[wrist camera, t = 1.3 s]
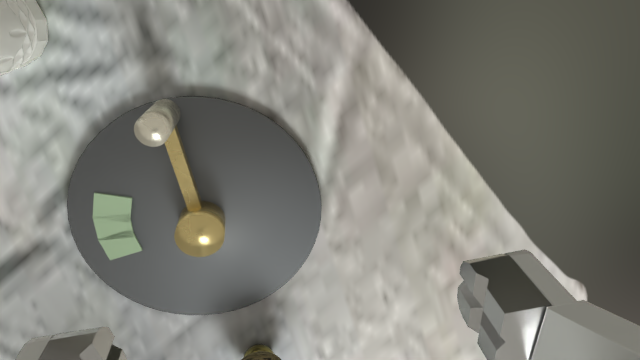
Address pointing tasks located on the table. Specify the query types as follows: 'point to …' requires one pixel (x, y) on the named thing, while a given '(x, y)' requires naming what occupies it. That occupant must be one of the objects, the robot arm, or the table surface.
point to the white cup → (21, 34)
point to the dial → (213, 186)
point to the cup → (260, 353)
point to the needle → (183, 182)
